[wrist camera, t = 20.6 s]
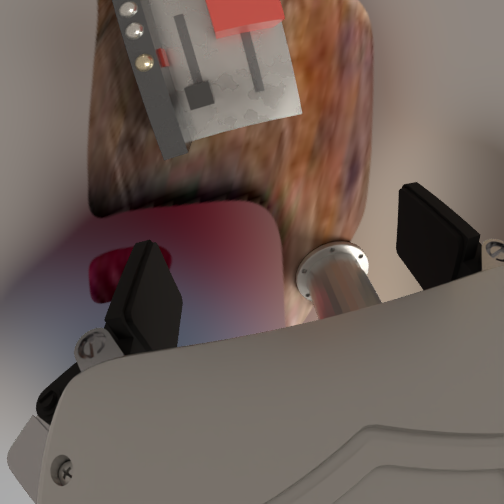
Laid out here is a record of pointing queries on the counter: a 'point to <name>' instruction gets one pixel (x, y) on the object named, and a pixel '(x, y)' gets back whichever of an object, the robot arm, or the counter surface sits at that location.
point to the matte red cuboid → (243, 15)
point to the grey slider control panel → (203, 71)
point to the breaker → (199, 95)
